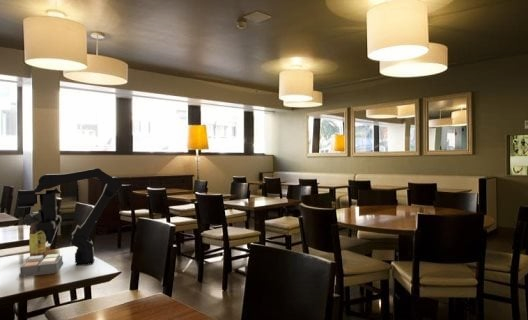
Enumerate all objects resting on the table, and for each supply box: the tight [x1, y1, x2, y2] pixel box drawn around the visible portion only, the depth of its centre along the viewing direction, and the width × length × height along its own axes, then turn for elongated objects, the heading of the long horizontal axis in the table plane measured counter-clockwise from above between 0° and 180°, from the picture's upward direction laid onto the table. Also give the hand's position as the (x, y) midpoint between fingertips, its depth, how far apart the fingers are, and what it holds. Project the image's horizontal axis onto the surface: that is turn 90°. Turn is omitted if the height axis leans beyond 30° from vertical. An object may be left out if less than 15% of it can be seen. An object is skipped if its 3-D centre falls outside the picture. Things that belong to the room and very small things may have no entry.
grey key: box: [27, 255, 44, 262], centre depth 148 cm, size 4×4×2 cm
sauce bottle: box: [28, 211, 47, 258], centre depth 167 cm, size 7×6×20 cm
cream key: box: [41, 258, 57, 265], centre depth 145 cm, size 4×4×2 cm
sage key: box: [45, 253, 61, 259], centre depth 150 cm, size 4×4×2 cm
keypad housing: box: [19, 255, 64, 278], centre depth 147 cm, size 12×12×4 cm
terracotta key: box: [23, 262, 40, 267], centre depth 143 cm, size 4×4×2 cm
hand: (50, 243), depth 149 cm, fingers closed
